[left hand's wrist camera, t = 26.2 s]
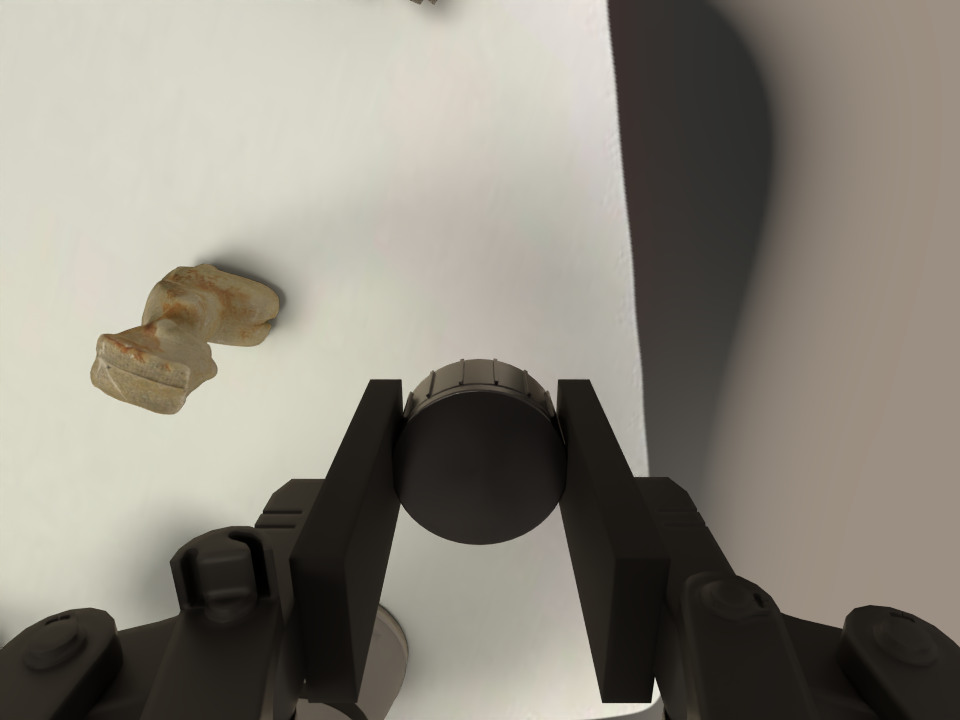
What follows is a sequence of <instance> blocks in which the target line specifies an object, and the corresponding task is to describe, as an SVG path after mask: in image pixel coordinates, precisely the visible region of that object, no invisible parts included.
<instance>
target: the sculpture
mask: <svg viewBox="0 0 960 720" xmlns="http://www.w3.org/2000/svg"><path fill="white" fill-rule="evenodd" d="M278 311H279V298H278V296H277V295H276V294H275V292H274V291H273V290H272V289H270V288H269V287H267V286H265V285H263V284H261V283H259V282H256V281H253V280H250V279H247V278H244V277H240V276H237V275H234V274H230V273H226V272H223V271H220V270H218V269H217V268H216V267H215V266H212V265H208V264H201V265H198V266H195V267H177V268H176V269H174V270H172V271H171V272H170V273H168V274H167V275H166V276H165V277H164V278H163V279H162V280H161V281H160V282H158V283H157V284H156V285H155V286H154V288H153V289H152V291H151V292H150V294H149V296H148V299H147V302H146V306H145V309H144V313H143V316H142V326H138V327H135V328H132V329H129V330H126V331H123V332H121V333H118V334H102V335H101V336H100V337H99V338H98V341H97V347H96V351H97V356H96V359H95V361H94V364H93V366H92V369H91V372H90V374H91V381H92V384H93V385H94V386H95V387H97V388H99V389H100V390H102V391H103V392H104V393H106V394H107V395H109V396H111V397H113V398H116V399H118V400H120V401H123V402H127V403H130V404H133V405H136V406H139V407H142V408H145V409H147V410H150V411H153V412H155V413H160V414H175V413H177V412H178V411H179V410H180V409H181V408H182V406H183V405H184V403H185V401H186V397H187V396H188V395H189V394H190V393H191V392H192V391H193V390H195V389H196V388H197V387H199V386H200V385H201V384H202V383H203V382H205V381H206V380H209V379H212V378H213V377H215V376H216V374H217V366H216V363H215V362H214V360H213V359H212V358H211V356H212V354H211V348H210V346H209V344H207V342H211V343H217V344H223V345H232V346H245V347H250V346H256V345H259V344H260V343H262V342H263V341H264V340H265V338H266V337H267V335H268V334H269V330H270V329H271V325H270V323H269V322H268V321H267V320H270V319H273V318H275V317H276V315H277V313H278Z"/></svg>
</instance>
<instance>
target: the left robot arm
mask: <svg viewBox="0 0 960 720" xmlns="http://www.w3.org/2000/svg"><path fill="white" fill-rule="evenodd" d="M402 415H403V400H402V380H401V379H370V381H369V383H368V386H367V388H366V390H365V392H364V394H363V397H362V399H361V401H360V403H359V405H358V408H357V410H356V412H355V414H354V416H353V419H352V421H351V423H350V425H349V427H348V430H347V432H346V434H345V436H344V438H343V440H342V443H341V445H340V447H339V449H338V451H337V454H336V456H335V458H334V460H333V462H332V465H331V467H330V469H329V471H328V473H327V476H326V478H325V479H291V480H290V481H289V482H287V483H286V484H285V485H283V486H282V487H281V488H280V489H278V490H277V491H276V492H274V493H273V494H272V496H271V498H270V499H269V501H268V503H267V505H266V506H265V508H264V510H263V514H261V515H260V517H259V518H258V520H257V522H256V523H255V528H253V527H250V526H230V527H225V528H221V529H216V530H212V531H210V532H207V533H205V534H203V535H200V536H198V537H196V538H194V539H192V540H191V541H190V542H188V543H187V544H185V545H184V546H183V547H181V548H180V549H179V550H178V551H177V552H176V554H175V555H174V557H173V558H172V559H171V561H170V565H171V570H172V574H173V579H174V583H175V588H176V592H177V596H178V601H179V605H180V610H181V611H180V613H179V615H178V616H175V617H172V618H169V619H166V620H163V621H159V622H155V623H151V624H147V625H142V626H138V627H134V628H130V629H125V630H121V631H117V628H116V624H115V621H114V619H113V618H112V617H111V616H110V615H109V614H108V613H107V612H106V611H103V610H99V609H94V608H82V609H72V610H68V611H65V612H62V613H59V614H55V615H52V616H49V617H47V618H45V619H43V620H41V621H39V622H37V623H36V624H34V625H32V626H30V627H28V628H26V629H25V630H24V631H22V632H21V633H20V634H19V635H17V636H16V637H15V638H14V639H12V640H11V641H10V642H9V643H7V644H6V645H5V646H4V647H3V648H2V649H1V650H0V720H384V719H385V717H386V715H387V713H388V711H389V709H390V707H391V705H392V704H393V702H394V700H395V698H396V697H397V695H398V693H399V691H400V688H401V686H402V683H403V680H404V676H405V672H406V665H407V658H408V650H407V643H406V639H405V637H404V634H403V632H402V630H401V628H400V627H399V625H398V624H397V622H396V621H395V620H394V619H393V617H392V616H391V615H390V614H389V613H388V612H387V611H385V610H384V609H383V608H382V607H380V606H379V601H380V596H381V592H382V587H383V582H384V578H385V573H386V568H387V564H388V559H389V555H390V550H391V545H392V541H393V536H394V532H395V527H396V522H397V518H398V513H399V509H400V504H401V502H400V501H399V499H398V497H397V495H396V492H395V490H394V485H393V470H392V450H393V447H394V443H395V440H396V436H397V433H398V429H399V426H400V422H401V418H402ZM556 415H557V418H558V420H559V424H560V427H561V431H562V434H563V438H564V441H565V447H566V451H567V457H568V462H567V479H566V486H565V490H564V492H563V494H562V497H561V499H560V501H559V506H560V510H561V515H562V520H563V524H564V529H565V533H566V538H567V543H568V547H569V552H570V556H571V561H572V566H573V570H574V575H575V579H576V584H577V589H578V593H579V598H580V603H581V607H582V612H583V616H584V621H585V626H586V630H587V635H588V639H589V644H590V649H591V653H592V658H593V662H594V667H595V672H596V676H597V681H598V686H599V690H600V695H601V699H602V703H651V701H652V693H653V686H654V679H655V678H656V681H657V685H658V688H659V691H660V694H661V697H662V700H663V703H664V709H663V715H662V720H960V647H959V646H958V645H957V644H956V643H955V642H954V641H953V640H951V639H950V638H949V637H948V636H946V635H945V634H944V633H943V632H941V631H940V630H939V629H938V628H936V627H935V626H934V625H932V624H930V623H928V622H926V621H924V620H922V619H920V618H918V617H916V616H915V615H913V614H910V613H907V612H904V611H900V610H897V609H894V608H891V607H884V606H874V605H868V606H863V607H859V608H855V609H853V610H852V611H851V612H850V613H849V614H848V615H847V616H846V619H845V622H844V626H843V629H841V628H837V627H832V626H828V625H824V624H819V623H815V622H811V621H806V620H802V619H799V618H795V617H792V616H789V615H786V614H783V613H781V612H780V610H779V608H778V607H777V605H776V603H775V602H774V600H773V599H772V597H771V596H770V595H769V594H768V593H766V592H765V591H764V590H763V589H761V588H760V587H759V586H758V585H756V584H754V583H752V582H750V581H748V580H746V579H744V578H742V577H740V576H737V575H736V574H735V573H734V571H733V569H732V568H731V566H730V564H729V562H728V561H727V559H726V557H725V556H724V554H723V552H722V551H721V549H720V547H719V546H718V544H717V542H716V540H715V539H714V537H713V535H712V534H711V532H710V530H709V528H708V527H706V526H705V522H704V520H703V518H702V517H701V515H700V513H699V512H697V508H696V506H695V505H694V503H693V501H692V499H691V498H690V496H689V494H688V493H687V491H685V490H684V489H683V488H681V487H680V486H679V485H677V484H676V483H675V482H674V481H672V480H671V479H670V478H668V477H633V474H632V472H631V470H630V468H629V466H628V463H627V461H626V459H625V457H624V455H623V452H622V450H621V448H620V446H619V444H618V441H617V439H616V437H615V435H614V433H613V430H612V428H611V426H610V424H609V422H608V419H607V417H606V415H605V413H604V411H603V408H602V406H601V404H600V402H599V400H598V397H597V395H596V393H595V391H594V389H593V387H592V384H591V382H590V380H586V379H558V392H557V412H556Z"/></svg>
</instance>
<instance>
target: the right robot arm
mask: <svg viewBox="0 0 960 720" xmlns="http://www.w3.org/2000/svg"><path fill="white" fill-rule="evenodd" d="M410 1H413V2H415V3H418V4H421V3H422V1H423V0H410ZM429 1H430V2H431V3H432V4H435V3H436V1H437V0H429Z"/></svg>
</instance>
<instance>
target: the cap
mask: <svg viewBox="0 0 960 720" xmlns="http://www.w3.org/2000/svg"><path fill="white" fill-rule="evenodd" d="M567 462H568V457H567V451H566V447H565V441H564V438H563V434H562V431H561V427H560V424H559V420H558V418H557V415H556V412H555V409H554V406H553V403H552V401H551V397H550V393H549V392H548V391H546V392H545V390H544V389H543V388H542V386H541V385H540V384H539V383H538V382H537V381H536V380H535V379H533V378H532V377H531V376H530V375H528V372H527V371H526V370H524V371H522V370H520V369H518V368H516V367H514V366H512V365H509V364H506V363H503V362H499V361H497V359H493V360H485V359H474V360H465V361H464V359H461V360H460V362H456V363H453V364H450V365H447V366H445V367H443V368H441V369H439V370H437V371H435V372H434V371H431V372H430V375H429V376H428V377H427V378H426V379H424V380H423V381H422V382H421V383H420V384H419V385H418V386H417V388H416V389H415V390H414V391H413V393H412V392H410V393H409V395H408V399H407V403H406V406H405V409H404V412H403V415H402V418H401V422H400V426H399V429H398V433H397V436H396V440H395V443H394V447H393V450H392V470H393V485H394V490H395V492H396V495H397V497H398V499H399V501H400V502H401V504H402V506H403V507H404V509H405V510H406V511H407V512H408V514H409V515H410V516H411V517H412V518H413V519H414V520H415V521H416V522H417V523H418V524H420V525H421V526H422V527H424V528H425V529H427V530H428V531H430V532H432V533H434V534H435V535H437V536H440V537H442V538H445V539H447V540H450V541H454V542H458V543H464V544H472V545H486V544H495V543H501V542H505V541H508V540H512V539H514V538H517V537H519V536H522V535H524V534H525V533H527V532H529V531H531V530H532V529H534V528H535V527H537V526H538V525H539V524H541V523H542V522H543V521H544V520H545V519H546V518H547V517H548V516H549V515H550V514H551V512H552V511H553V510H554V509H555V507H556V505H557V504H558V502H559V501H560V499H561V497H562V494H563V492H564V490H565V486H566V479H567Z"/></svg>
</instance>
